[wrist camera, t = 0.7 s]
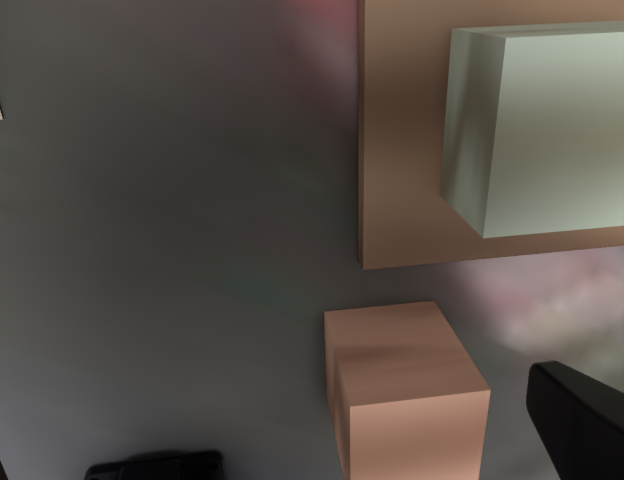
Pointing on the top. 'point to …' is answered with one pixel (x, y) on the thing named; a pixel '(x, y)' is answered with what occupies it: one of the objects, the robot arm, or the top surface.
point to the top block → (403, 394)
